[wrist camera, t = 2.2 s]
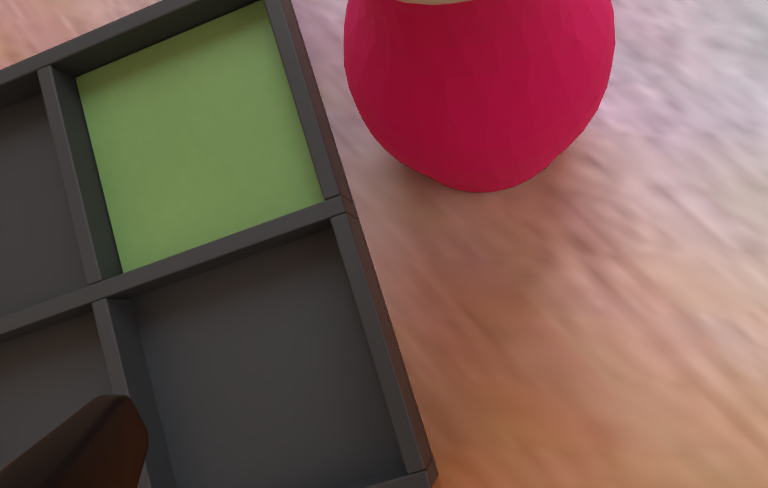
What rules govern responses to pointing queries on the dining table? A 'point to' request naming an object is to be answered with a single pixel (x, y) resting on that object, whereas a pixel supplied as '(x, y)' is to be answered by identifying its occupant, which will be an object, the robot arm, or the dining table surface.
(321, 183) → the grid
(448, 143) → the pepper mill
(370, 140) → the dining table surface
